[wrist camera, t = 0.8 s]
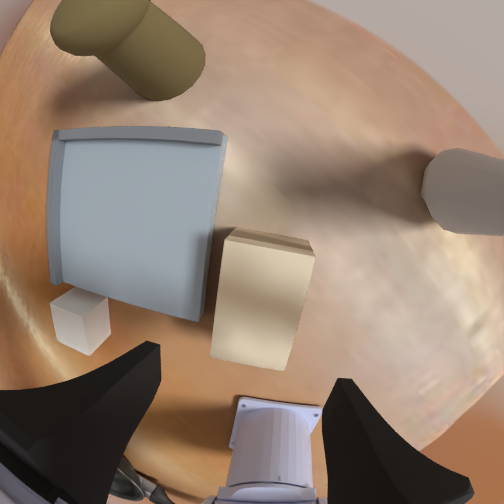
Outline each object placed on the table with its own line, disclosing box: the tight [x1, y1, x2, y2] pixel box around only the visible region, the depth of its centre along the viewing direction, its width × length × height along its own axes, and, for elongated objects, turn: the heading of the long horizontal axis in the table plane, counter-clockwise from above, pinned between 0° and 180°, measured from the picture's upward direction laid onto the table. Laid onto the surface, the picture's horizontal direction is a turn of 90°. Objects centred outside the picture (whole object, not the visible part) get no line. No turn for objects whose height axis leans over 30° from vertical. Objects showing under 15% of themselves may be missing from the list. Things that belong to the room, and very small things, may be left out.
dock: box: [47, 126, 228, 322], centre depth 18 cm, size 13×14×2 cm
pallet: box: [210, 227, 316, 371], centre depth 18 cm, size 8×5×4 cm, turn 171°
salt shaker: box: [421, 148, 504, 236], centre depth 10 cm, size 6×6×13 cm
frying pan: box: [109, 456, 175, 504], centre depth 28 cm, size 44×25×7 cm, turn 67°
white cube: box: [50, 287, 111, 356], centre depth 20 cm, size 4×4×4 cm
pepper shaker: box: [50, 0, 205, 101], centre depth 10 cm, size 6×6×11 cm
